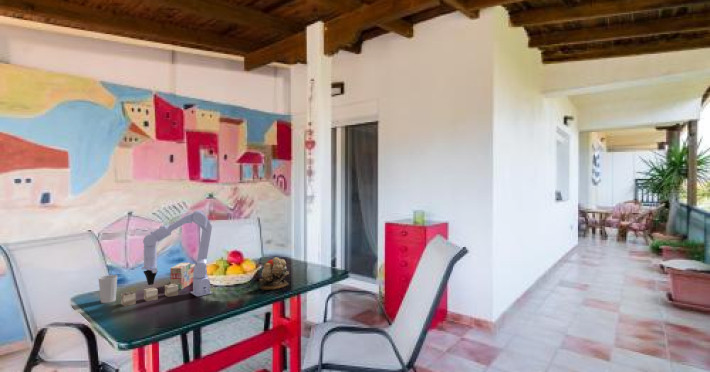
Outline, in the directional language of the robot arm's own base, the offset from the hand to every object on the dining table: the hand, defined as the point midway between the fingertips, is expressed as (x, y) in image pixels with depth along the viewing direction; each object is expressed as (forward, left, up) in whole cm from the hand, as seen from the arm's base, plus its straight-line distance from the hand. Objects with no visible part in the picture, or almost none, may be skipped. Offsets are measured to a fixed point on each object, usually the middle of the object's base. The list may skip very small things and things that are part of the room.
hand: (150, 284), depth 189 cm
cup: (+12, +16, -8) cm, 21 cm away
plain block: (0, 0, -8) cm, 8 cm away
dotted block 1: (0, +10, -8) cm, 13 cm away
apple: (-8, -67, -8) cm, 68 cm away
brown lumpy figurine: (-26, -57, -8) cm, 63 cm away
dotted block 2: (0, -10, -8) cm, 12 cm away
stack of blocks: (+15, -22, -8) cm, 28 cm away
